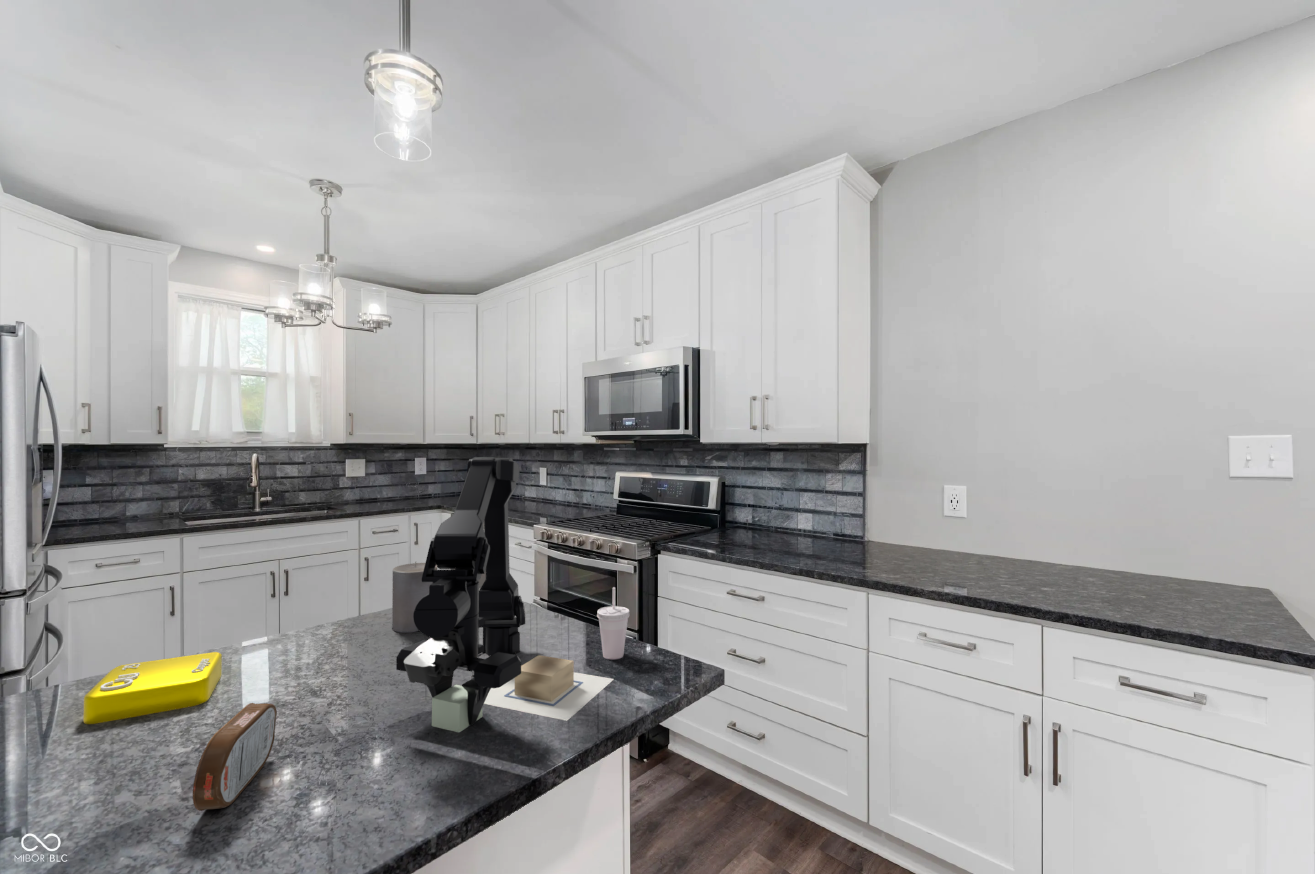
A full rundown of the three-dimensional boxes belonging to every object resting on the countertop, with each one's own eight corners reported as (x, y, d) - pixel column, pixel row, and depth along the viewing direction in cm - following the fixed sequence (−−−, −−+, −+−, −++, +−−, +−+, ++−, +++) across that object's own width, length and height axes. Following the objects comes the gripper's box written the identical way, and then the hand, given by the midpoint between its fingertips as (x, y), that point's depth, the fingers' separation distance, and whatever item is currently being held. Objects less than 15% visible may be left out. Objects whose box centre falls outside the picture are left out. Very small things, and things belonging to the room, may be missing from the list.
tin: (254, 754, 75) (255, 691, 75) (280, 751, 76) (281, 689, 76) (188, 828, 60) (189, 750, 61) (221, 824, 61) (222, 747, 61)
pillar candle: (406, 618, 135) (406, 556, 135) (445, 619, 134) (445, 557, 134) (383, 632, 125) (382, 565, 125) (424, 633, 124) (424, 566, 124)
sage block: (431, 732, 81) (431, 698, 81) (455, 717, 85) (456, 684, 86) (459, 739, 79) (459, 703, 79) (482, 723, 84) (482, 689, 84)
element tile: (206, 706, 90) (207, 676, 90) (77, 729, 82) (78, 696, 83) (223, 673, 103) (224, 647, 103) (113, 690, 95) (114, 662, 96)
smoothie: (631, 654, 111) (632, 584, 112) (627, 667, 105) (627, 592, 105) (600, 653, 112) (600, 583, 112) (593, 666, 106) (593, 592, 106)
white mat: (468, 706, 89) (468, 699, 89) (526, 669, 104) (526, 663, 104) (566, 727, 82) (566, 719, 82) (614, 684, 97) (614, 678, 97)
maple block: (514, 694, 91) (514, 669, 91) (538, 677, 98) (538, 655, 98) (551, 701, 89) (551, 676, 89) (573, 684, 95) (573, 660, 95)
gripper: (365, 623, 78) (364, 734, 78) (473, 639, 72) (472, 762, 71) (425, 602, 89) (424, 701, 89) (523, 615, 82) (523, 722, 82)
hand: (457, 720), depth 82 cm, fingers closed on sage block, 5 cm apart
